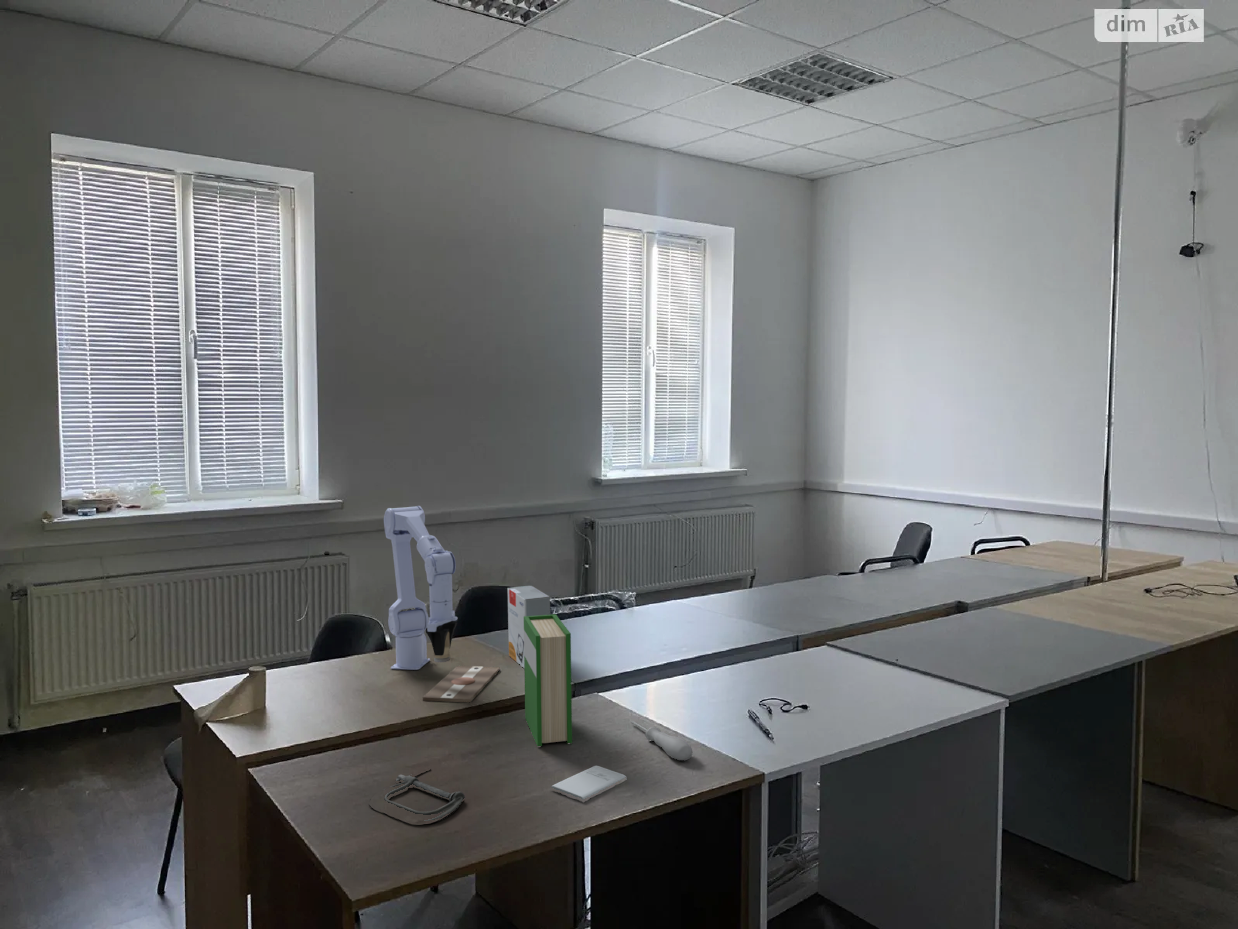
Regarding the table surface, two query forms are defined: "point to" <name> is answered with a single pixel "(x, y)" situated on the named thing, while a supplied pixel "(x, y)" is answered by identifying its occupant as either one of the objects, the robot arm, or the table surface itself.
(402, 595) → the robot arm
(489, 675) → the board
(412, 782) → the c clamp
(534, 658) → the hardback book
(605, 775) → the external hard drive
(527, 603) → the hard drive box
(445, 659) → the tan cylinder
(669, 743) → the screwdriver
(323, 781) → the table surface
